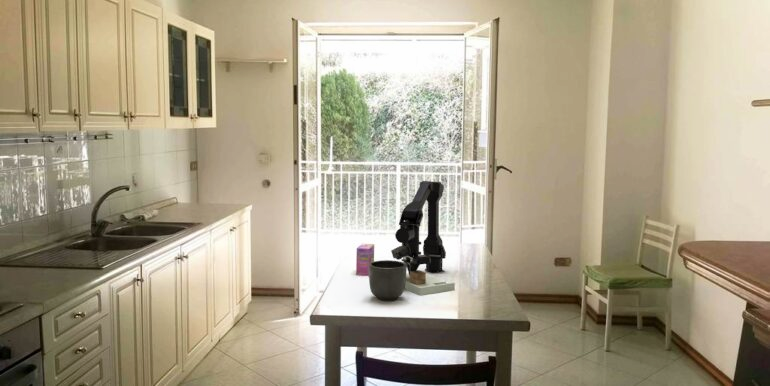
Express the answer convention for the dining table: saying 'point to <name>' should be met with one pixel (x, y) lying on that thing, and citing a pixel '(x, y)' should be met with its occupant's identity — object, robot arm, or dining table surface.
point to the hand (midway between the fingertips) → (411, 277)
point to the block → (417, 277)
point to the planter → (387, 279)
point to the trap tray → (429, 286)
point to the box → (364, 258)
